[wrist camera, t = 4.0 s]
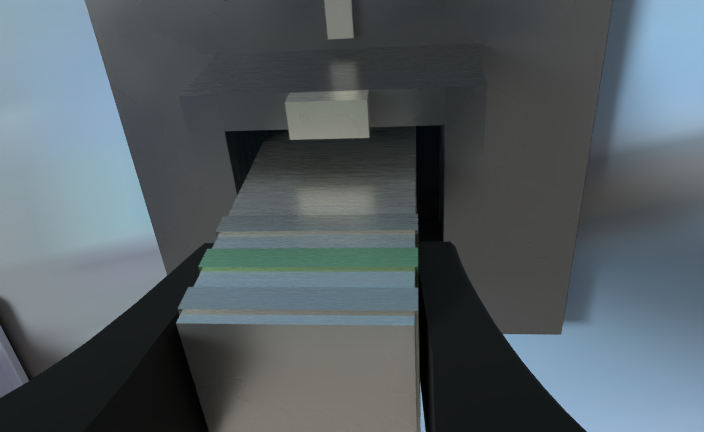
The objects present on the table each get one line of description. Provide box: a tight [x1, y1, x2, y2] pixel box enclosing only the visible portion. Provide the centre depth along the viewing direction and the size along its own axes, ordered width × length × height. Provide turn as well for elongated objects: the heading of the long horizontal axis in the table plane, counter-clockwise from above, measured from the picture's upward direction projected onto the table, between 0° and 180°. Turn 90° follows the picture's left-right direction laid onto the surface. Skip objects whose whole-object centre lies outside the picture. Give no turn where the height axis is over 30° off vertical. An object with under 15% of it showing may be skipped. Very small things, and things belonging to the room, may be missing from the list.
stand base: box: [85, 0, 613, 334], centre depth 15 cm, size 12×12×4 cm
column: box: [176, 126, 421, 432], centre depth 12 cm, size 4×4×7 cm
